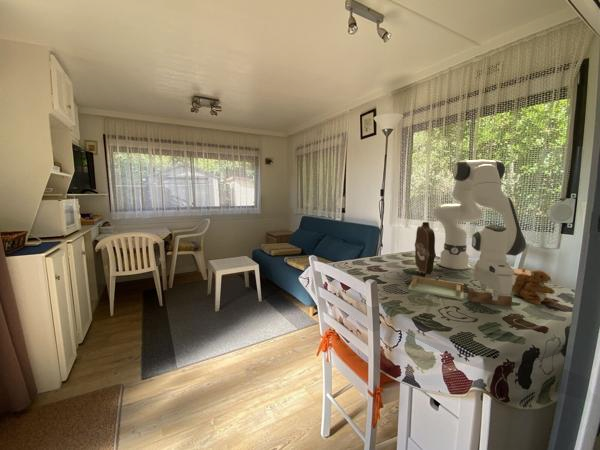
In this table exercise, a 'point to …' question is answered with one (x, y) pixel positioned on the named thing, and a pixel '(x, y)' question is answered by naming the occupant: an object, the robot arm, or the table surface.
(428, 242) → the decorative plaque
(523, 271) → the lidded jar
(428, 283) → the shallow tray
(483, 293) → the brown rectangular block
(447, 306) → the table surface
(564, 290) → the table surface
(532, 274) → the stuffed squirrel
